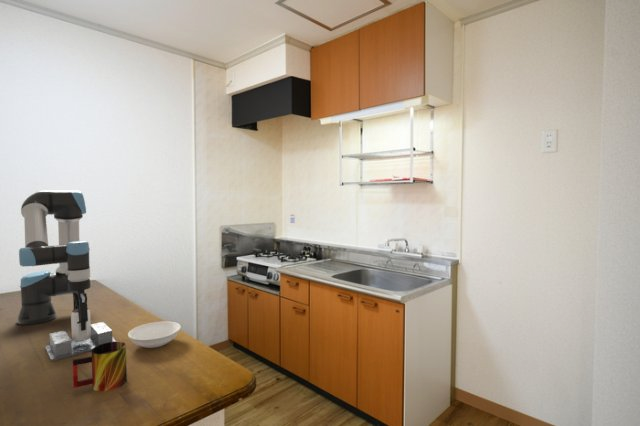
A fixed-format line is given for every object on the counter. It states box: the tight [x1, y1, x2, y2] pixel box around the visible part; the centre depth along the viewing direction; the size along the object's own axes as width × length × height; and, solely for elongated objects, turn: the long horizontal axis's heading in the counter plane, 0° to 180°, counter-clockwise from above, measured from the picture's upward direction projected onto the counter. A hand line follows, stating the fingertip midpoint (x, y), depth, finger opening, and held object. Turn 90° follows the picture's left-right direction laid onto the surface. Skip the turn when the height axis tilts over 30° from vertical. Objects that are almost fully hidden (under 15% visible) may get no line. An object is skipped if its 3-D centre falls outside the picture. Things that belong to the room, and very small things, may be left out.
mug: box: [72, 341, 128, 392], centre depth 114 cm, size 10×14×12 cm
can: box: [70, 307, 91, 342], centre depth 144 cm, size 6×6×12 cm
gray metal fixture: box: [44, 321, 118, 362], centre depth 144 cm, size 16×22×6 cm
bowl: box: [127, 320, 182, 349], centre depth 145 cm, size 20×20×6 cm
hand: (81, 335), depth 144 cm, fingers closed on can, 6 cm apart
